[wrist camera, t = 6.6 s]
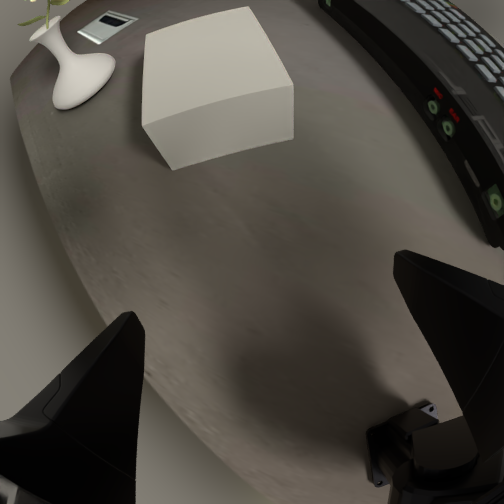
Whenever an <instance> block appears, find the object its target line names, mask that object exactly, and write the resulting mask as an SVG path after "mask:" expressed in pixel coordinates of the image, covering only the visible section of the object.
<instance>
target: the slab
mask: <svg viewBox="0 0 504 504" xmlns="http://www.w3.org/2000/svg"><path fill="white" fill-rule="evenodd" d="M142 127H143V129H144V130H145V131H146V133H147V134H148V136H149V137H150V139H151V140H152V142H153V143H154V145H155V146H156V148H157V149H158V150H159V152H160V153H161V155H162V156H163V158H164V159H165V161H166V162H167V164H168V165H169V166H170V168H171V169H172V171H173V170H177V169H180V168H183V167H186V166H189V165H193V164H196V163H199V162H203V161H206V160H210V159H213V158H217V157H221V156H224V155H228V154H232V153H236V152H239V151H243V150H247V149H251V148H255V147H260V146H264V145H268V144H273V143H277V142H282V141H286V140H291V139H294V85H293V83H292V81H291V79H290V77H289V75H288V73H287V71H286V69H285V68H284V66H283V64H282V62H281V60H280V58H279V57H278V55H277V53H276V51H275V49H274V48H273V46H272V44H271V42H270V41H269V39H268V37H267V36H266V34H265V32H264V30H263V29H262V27H261V25H260V24H259V22H258V21H257V19H256V17H255V16H254V14H253V13H252V11H251V9H250V8H249V6H248V7H242V8H237V9H232V10H227V11H223V12H218V13H214V14H210V15H206V16H202V17H198V18H195V19H191V20H188V21H185V22H181V23H178V24H175V25H172V26H169V27H166V28H163V29H160V30H157V31H155V32H152V33H149V34H147V35H146V42H145V54H144V68H143V89H142Z"/></svg>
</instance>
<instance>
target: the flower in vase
mask: <svg viewBox="0 0 504 504" xmlns="http://www.w3.org/2000/svg"><path fill="white" fill-rule="evenodd" d="M25 1H26V0H25ZM30 1H31V2H35V1H36V0H30ZM68 1H69V0H51V3H50V0H48V7H47V15H46V23H45V24H44V25H43V26H42V27H40V28H39V29H38V30H37V31H36V32H35V33H34V34H33V35H32V36H31V38H30V41H34V42H38V43H40V44H43V45H44V46H45V47H47V48H48V49H49V50H50V51H51V52H52V53H53V55H54V56H55V57H56V59H57V60H58V62H59V64H60V72H59V75H58V78H57V81H56V84H55V87H54V91H53V103H54V106H55V107H56V108H57V109H64V110H65V109H70V108H73V107H76V106H78V105H80V104H81V103H83V102H85V101H86V100H88V99H89V98H90V97H92V96H93V95H94V94H95V93H96V92H98V91H99V90H100V89H101V88H102V87H103V86H104V85H105V83H106V82H107V81H108V80H109V78H110V77H111V75H112V74H113V71H114V68H115V59H114V58H113V57H112V56H110V55H109V54H104V53H93V54H83V55H79V54H75V53H73V52H72V51H71V50H70V49H69V47H68V46H67V45H66V43H65V41H64V39H63V37H62V35H61V32H60V27H59V22H60V16H57V17H55V18H53V19H51V20H50V21H48V17H49V10H50V4H52V5H64V4H66V3H67V2H68ZM43 18H45V16H38V17H36V18H34V19H31V20H29V21H27V22H25V23H21V24H18V25H20V26H26V25H29V24H31V23H34V22H36V21H38V20H41V19H43Z"/></svg>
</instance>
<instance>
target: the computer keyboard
mask: <svg viewBox="0 0 504 504" xmlns="http://www.w3.org/2000/svg"><path fill="white" fill-rule="evenodd" d="M318 4H319V6H320V8H322V9H323V10H324V11H325V12H326V13H327V14H329V15H330V16H331V17H332V18H333V19H334V20H335V21H337V22H338V23H339V24H340V25H341V26H342V27H343V28H344V29H345V30H346V31H347V32H349V33H350V34H351V35H352V36H353V37H354V38H355V39H356V40H357V41H358V42H359V43H360V44H361V45H362V46H363V47H364V48H365V49H366V50H367V51H368V53H369V54H370V55H371V56H372V57H373V58H374V59H375V60H376V61H377V62H378V63H379V64H380V66H381V67H382V68H383V69H384V70H385V71H386V72H387V74H388V75H389V76H390V77H391V78H392V79H393V81H394V82H395V83H396V84H397V85H398V87H399V88H400V89H401V90H402V92H403V93H404V94H405V96H406V97H407V98H408V99H409V101H410V102H411V103H412V105H413V106H414V107H415V109H416V110H417V112H418V113H419V114H420V116H421V117H422V119H423V120H424V121H425V123H426V124H427V126H428V127H429V129H430V130H431V132H432V133H433V135H434V136H435V138H436V139H437V141H438V143H439V144H440V146H441V147H442V149H443V151H444V152H445V154H446V156H447V157H448V159H449V161H450V162H451V164H452V166H453V168H454V169H455V171H456V173H457V175H458V177H459V179H460V181H461V182H462V184H463V186H464V188H465V190H466V192H467V194H468V196H469V198H470V200H471V202H472V204H473V207H474V209H475V211H476V213H477V215H478V218H479V220H480V222H481V225H482V227H483V229H484V232H485V234H486V237H487V239H488V242H489V244H490V245H491V246H492V247H494V248H497V247H499V246H500V247H501V249H502V250H504V48H503V47H502V46H501V45H500V44H499V43H498V42H497V41H496V40H495V39H494V38H493V37H491V36H490V35H489V34H488V33H487V32H486V31H485V30H484V29H483V28H482V27H481V26H479V25H478V24H477V23H476V22H475V21H474V20H472V19H471V18H470V17H469V16H468V15H467V14H465V13H464V12H463V11H461V10H460V9H459V8H457V7H456V6H455V5H454V4H453V3H451V2H450V1H449V0H318Z"/></svg>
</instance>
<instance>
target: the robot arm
mask: <svg viewBox="0 0 504 504" xmlns="http://www.w3.org/2000/svg"><path fill="white" fill-rule="evenodd" d="M393 276H394V279H395V281H396V283H397V285H398V287H399V290H400V292H401V294H402V296H403V298H404V300H405V302H406V304H407V307H408V309H409V311H410V313H411V315H412V316H413V318H414V320H415V322H416V323H417V325H418V327H419V329H420V330H421V332H422V334H423V336H424V337H425V339H426V341H427V343H428V345H429V346H430V348H431V350H432V352H433V354H434V356H435V357H436V359H437V361H438V363H439V365H440V367H441V369H442V371H443V373H444V375H445V377H446V379H447V381H448V383H449V385H450V387H451V389H452V391H453V393H454V395H455V397H456V400H457V402H458V404H459V406H460V408H461V410H462V411H463V412H462V413H463V416H460V417H457V418H455V419H452V420H449V421H446V422H443V423H439V420H438V418H437V408H436V405H435V404H433V403H429V404H426V405H424V406H422V407H420V408H413V409H411V410H409V411H406V412H404V413H402V414H399V415H397V416H394V417H392V418H390V419H389V420H388V421H387V422H385V423H382V424H380V425H377V426H374V427H372V428H369V429H368V430H367V431H366V439H367V445H368V451H369V457H370V463H371V470H372V477H373V483H374V485H375V487H382V486H384V485H387V484H390V485H391V487H390V493H389V499H388V504H504V285H501V284H499V283H496V282H494V281H491V280H487V279H486V278H483V277H481V276H478V275H475V274H473V273H470V272H468V271H465V270H462V269H460V268H457V267H454V266H451V265H449V264H446V263H443V262H440V261H438V260H435V259H432V258H429V257H426V256H423V255H421V254H418V253H415V252H412V251H409V250H401V251H398V252H396V253H395V255H394V267H393ZM144 357H145V330H144V328H143V326H142V324H141V322H140V321H139V319H138V317H137V315H136V314H135V313H134V312H133V311H129V312H124V313H122V314H121V315H120V316H118V317H117V318H116V319H115V320H114V321H113V322H112V323H111V324H110V325H109V326H108V327H107V328H106V329H105V330H104V331H103V332H101V333H100V334H99V335H98V336H97V337H96V338H95V339H94V340H93V341H92V342H91V343H90V344H89V345H88V346H87V347H86V348H85V349H84V350H83V351H82V352H81V353H80V354H79V355H78V356H76V357H75V358H74V360H72V361H71V362H70V363H69V364H68V365H67V366H66V367H65V368H64V369H63V370H62V372H61V374H58V375H57V376H56V377H55V378H54V379H53V380H52V381H51V382H50V383H49V384H48V385H47V386H46V387H45V388H44V389H43V390H42V391H41V392H40V393H39V394H38V395H37V396H35V397H34V398H33V399H32V400H31V401H30V402H29V403H28V404H26V405H25V406H24V407H23V408H22V409H21V410H20V411H19V412H18V413H16V414H15V415H14V416H13V417H11V418H10V419H7V420H4V421H0V504H135V502H136V498H135V496H136V492H135V491H136V481H135V479H136V457H137V456H136V455H137V438H138V425H139V414H140V403H141V394H142V385H143V377H144ZM430 407H432V409H431V410H430V411H429V408H430ZM371 432H374V434H373V435H371V436H370V433H371ZM379 481H381V482H380V483H378V482H379Z"/></svg>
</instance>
